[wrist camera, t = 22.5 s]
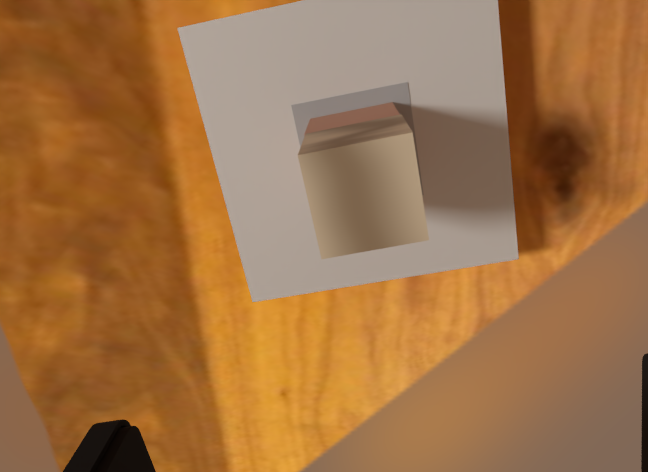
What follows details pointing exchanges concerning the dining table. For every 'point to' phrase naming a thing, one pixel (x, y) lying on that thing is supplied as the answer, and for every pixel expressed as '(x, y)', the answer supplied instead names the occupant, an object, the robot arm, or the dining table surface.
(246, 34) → the grey base
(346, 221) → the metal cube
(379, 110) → the terracotta cube
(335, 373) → the dining table surface
